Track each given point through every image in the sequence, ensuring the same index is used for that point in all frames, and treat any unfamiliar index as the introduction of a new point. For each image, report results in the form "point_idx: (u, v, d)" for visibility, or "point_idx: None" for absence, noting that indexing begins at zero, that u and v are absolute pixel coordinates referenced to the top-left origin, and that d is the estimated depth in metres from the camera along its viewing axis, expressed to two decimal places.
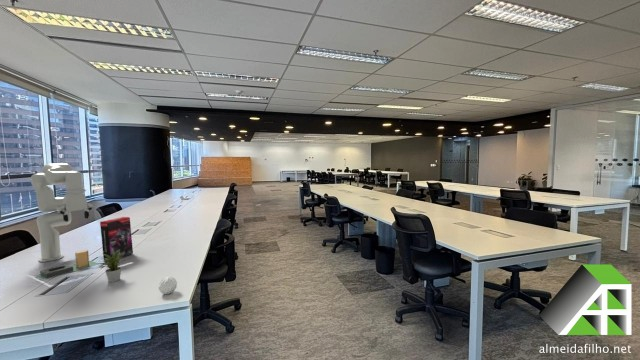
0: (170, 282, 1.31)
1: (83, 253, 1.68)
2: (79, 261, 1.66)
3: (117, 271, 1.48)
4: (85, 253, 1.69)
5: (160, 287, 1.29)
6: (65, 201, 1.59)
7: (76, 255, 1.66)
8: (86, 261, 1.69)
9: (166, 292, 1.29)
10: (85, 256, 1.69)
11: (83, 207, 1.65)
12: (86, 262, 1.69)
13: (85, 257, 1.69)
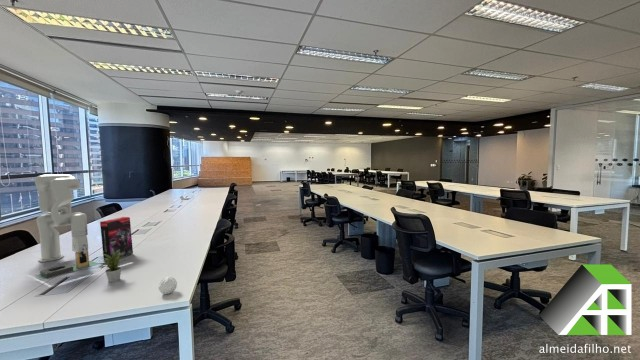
0: (170, 282, 1.31)
1: None
2: (79, 261, 1.66)
3: (117, 271, 1.48)
4: None
5: (160, 287, 1.29)
6: (85, 242, 1.66)
7: (76, 255, 1.66)
8: None
9: (166, 292, 1.29)
10: None
11: None
12: (86, 262, 1.69)
13: None
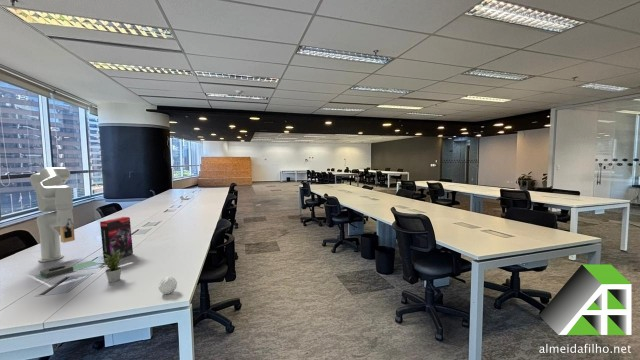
0: (170, 282, 1.31)
1: None
2: (64, 235, 1.60)
3: (117, 271, 1.48)
4: None
5: (160, 287, 1.29)
6: (70, 216, 1.60)
7: (61, 230, 1.60)
8: None
9: (166, 292, 1.29)
10: None
11: None
12: (71, 237, 1.63)
13: None
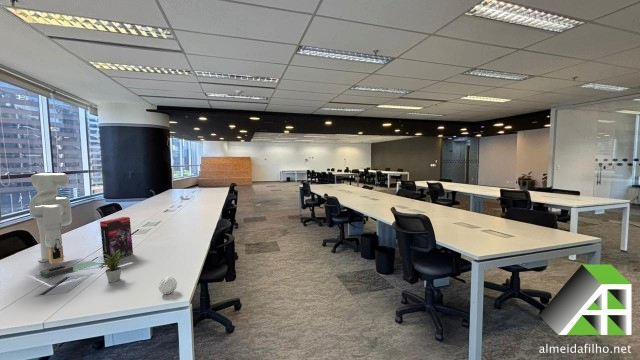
0: (170, 282, 1.31)
1: None
2: (52, 256, 1.55)
3: (117, 271, 1.48)
4: None
5: (160, 287, 1.29)
6: (58, 236, 1.55)
7: (49, 250, 1.55)
8: None
9: (166, 292, 1.29)
10: None
11: None
12: (60, 258, 1.58)
13: None
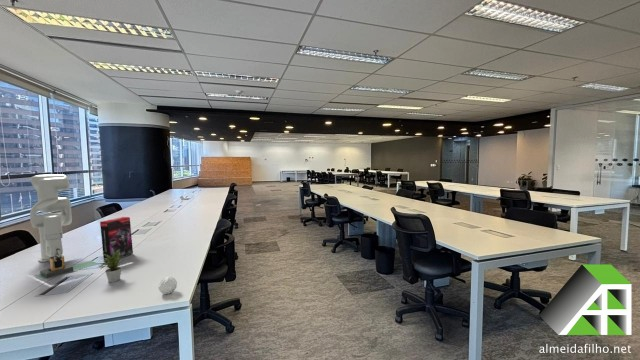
0: (170, 282, 1.31)
1: None
2: (54, 267, 1.56)
3: (117, 271, 1.48)
4: None
5: (160, 287, 1.29)
6: (59, 245, 1.56)
7: (50, 261, 1.56)
8: (62, 267, 1.59)
9: (166, 292, 1.29)
10: None
11: None
12: None
13: None
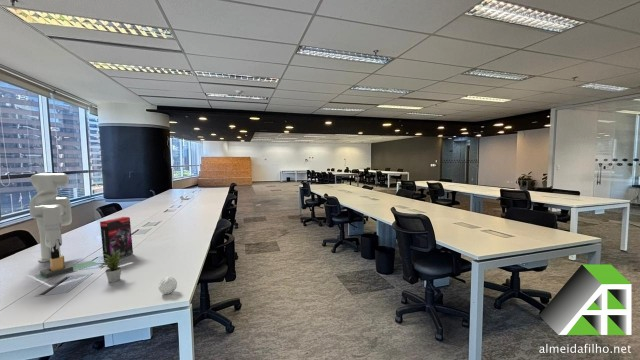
0: (170, 282, 1.31)
1: (59, 259, 1.58)
2: (54, 267, 1.56)
3: (117, 271, 1.48)
4: (60, 259, 1.59)
5: (160, 287, 1.29)
6: (58, 236, 1.55)
7: (50, 261, 1.56)
8: (62, 267, 1.59)
9: (166, 292, 1.29)
10: (60, 262, 1.59)
11: None
12: None
13: (60, 263, 1.59)
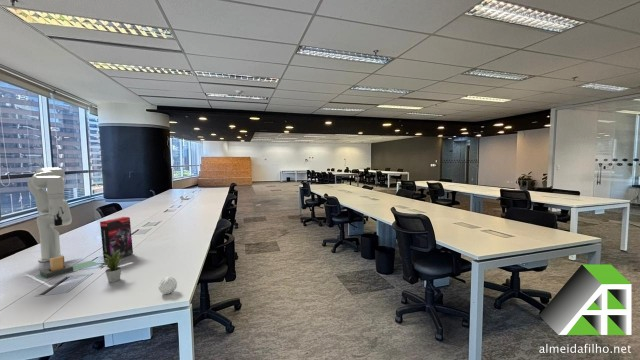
0: (170, 282, 1.31)
1: (59, 259, 1.58)
2: (54, 267, 1.56)
3: (117, 271, 1.48)
4: (60, 259, 1.59)
5: (160, 287, 1.29)
6: (61, 204, 1.65)
7: (50, 261, 1.56)
8: (62, 267, 1.59)
9: (166, 292, 1.29)
10: (60, 262, 1.59)
11: None
12: None
13: (60, 263, 1.59)
